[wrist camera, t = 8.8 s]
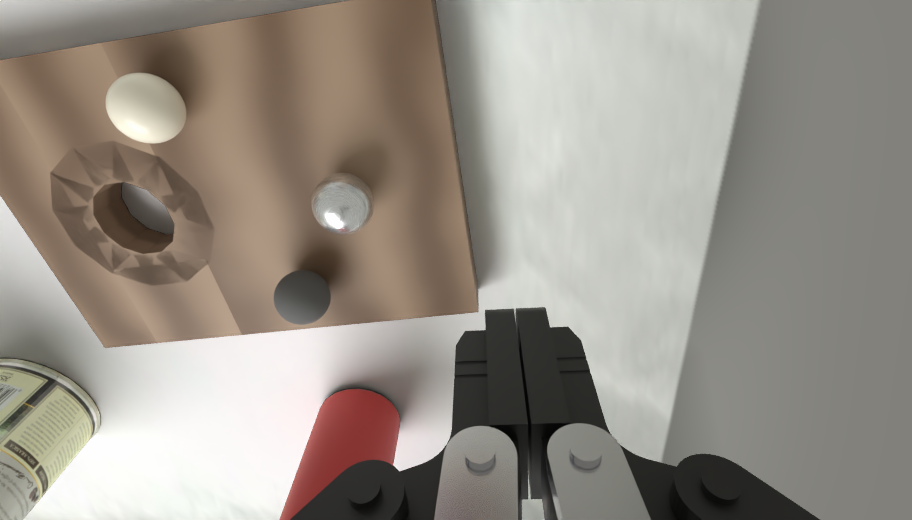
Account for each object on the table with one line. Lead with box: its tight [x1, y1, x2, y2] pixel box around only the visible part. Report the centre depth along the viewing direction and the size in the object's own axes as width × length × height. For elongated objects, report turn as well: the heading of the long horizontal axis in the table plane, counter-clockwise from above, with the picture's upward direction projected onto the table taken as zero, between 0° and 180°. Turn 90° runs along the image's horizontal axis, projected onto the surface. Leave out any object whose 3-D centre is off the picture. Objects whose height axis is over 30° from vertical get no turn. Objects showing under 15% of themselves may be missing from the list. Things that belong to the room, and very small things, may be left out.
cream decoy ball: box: [106, 73, 186, 144], centre depth 22 cm, size 3×3×3 cm
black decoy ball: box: [274, 270, 331, 325], centre depth 28 cm, size 3×3×3 cm
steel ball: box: [311, 173, 374, 235], centre depth 24 cm, size 3×3×3 cm
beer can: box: [280, 389, 400, 520], centre depth 33 cm, size 7×7×12 cm
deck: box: [0, 0, 478, 348], centre depth 28 cm, size 26×18×2 cm
